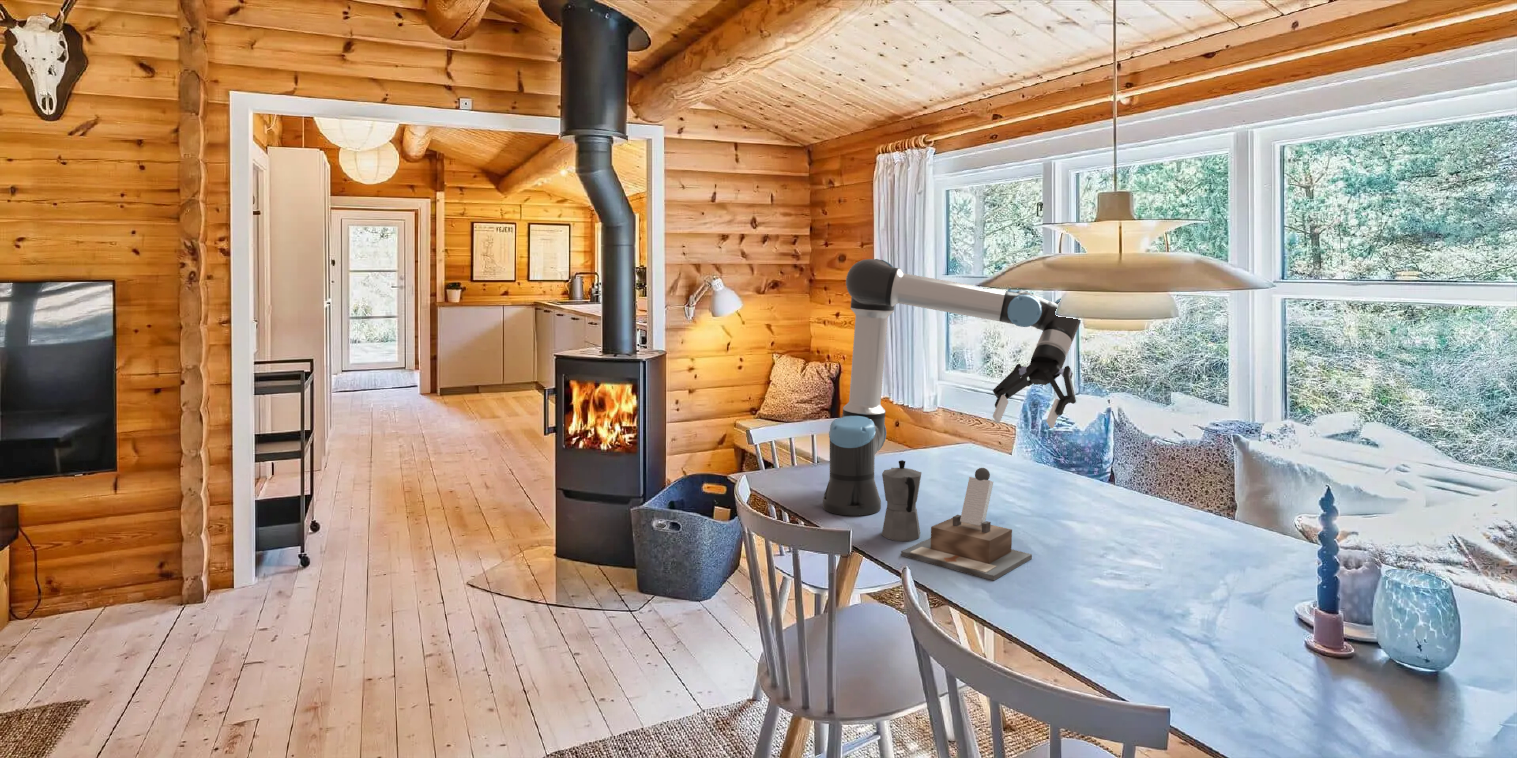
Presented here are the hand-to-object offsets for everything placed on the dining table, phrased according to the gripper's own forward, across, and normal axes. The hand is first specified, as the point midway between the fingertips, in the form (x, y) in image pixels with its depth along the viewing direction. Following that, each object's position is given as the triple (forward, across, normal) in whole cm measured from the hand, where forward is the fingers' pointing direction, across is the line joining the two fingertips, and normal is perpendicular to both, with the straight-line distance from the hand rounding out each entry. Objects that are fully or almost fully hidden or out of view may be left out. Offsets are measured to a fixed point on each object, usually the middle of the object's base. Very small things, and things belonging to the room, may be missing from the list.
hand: (1022, 422), depth 195 cm
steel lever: (+31, 0, +4) cm, 31 cm away
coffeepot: (+35, +18, 0) cm, 39 cm away
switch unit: (+37, 0, +1) cm, 37 cm away
